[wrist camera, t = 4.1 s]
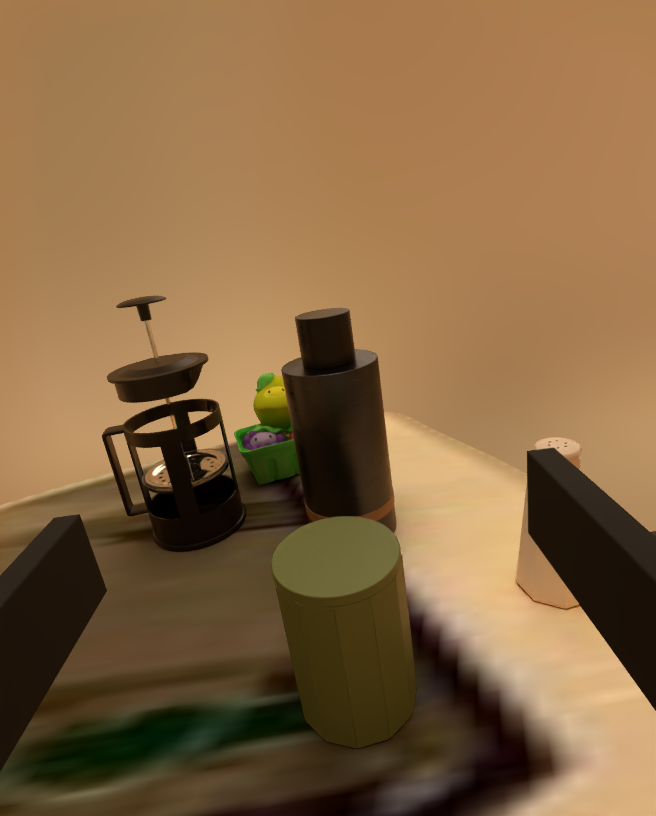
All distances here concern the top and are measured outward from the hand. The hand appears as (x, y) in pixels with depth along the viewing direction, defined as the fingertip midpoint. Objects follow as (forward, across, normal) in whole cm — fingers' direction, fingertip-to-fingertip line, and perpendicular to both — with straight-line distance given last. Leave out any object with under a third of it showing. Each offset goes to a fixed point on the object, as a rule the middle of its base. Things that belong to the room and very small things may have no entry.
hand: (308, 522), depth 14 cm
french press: (+31, -15, -18) cm, 39 cm away
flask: (+27, +1, -18) cm, 33 cm away
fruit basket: (+42, -6, -18) cm, 46 cm away
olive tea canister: (+10, 0, -18) cm, 20 cm away
